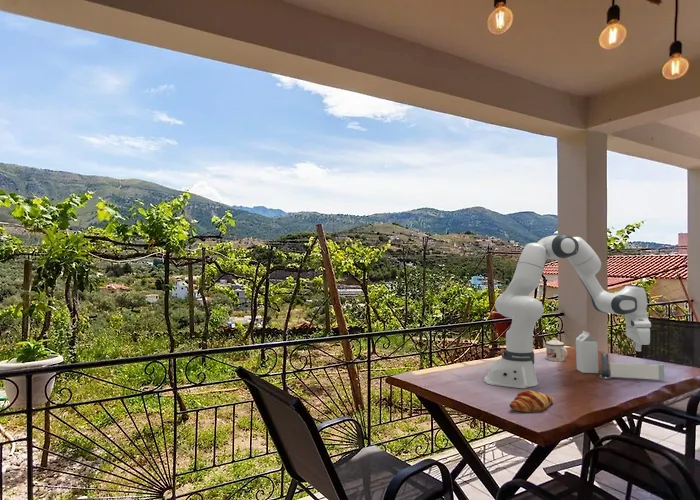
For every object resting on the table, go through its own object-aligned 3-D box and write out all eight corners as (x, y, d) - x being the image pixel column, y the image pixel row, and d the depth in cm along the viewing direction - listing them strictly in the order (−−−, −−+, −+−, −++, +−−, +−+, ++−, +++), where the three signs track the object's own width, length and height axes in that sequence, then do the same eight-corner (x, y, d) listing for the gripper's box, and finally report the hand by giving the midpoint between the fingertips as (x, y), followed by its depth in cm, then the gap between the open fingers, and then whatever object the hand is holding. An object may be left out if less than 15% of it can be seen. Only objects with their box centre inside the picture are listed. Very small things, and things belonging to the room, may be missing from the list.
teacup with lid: (542, 358, 230) (541, 337, 230) (554, 357, 233) (554, 336, 233) (560, 363, 219) (559, 341, 219) (573, 361, 222) (572, 339, 222)
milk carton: (591, 369, 206) (590, 330, 206) (598, 373, 199) (597, 333, 199) (576, 369, 207) (575, 330, 207) (583, 373, 200) (581, 333, 200)
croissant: (546, 410, 162) (538, 389, 166) (566, 404, 154) (557, 382, 158) (505, 419, 153) (497, 396, 157) (525, 413, 145) (516, 390, 149)
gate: (610, 376, 189) (610, 362, 189) (609, 375, 191) (609, 361, 191) (664, 379, 183) (663, 365, 183) (662, 378, 185) (662, 364, 185)
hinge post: (600, 379, 189) (599, 354, 189) (597, 376, 194) (596, 352, 194) (613, 380, 188) (612, 355, 188) (610, 377, 192) (609, 352, 193)
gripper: (621, 317, 204) (623, 345, 204) (635, 323, 185) (637, 355, 185) (636, 317, 202) (638, 346, 202) (652, 324, 183) (654, 356, 183)
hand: (637, 350), depth 193 cm, fingers closed
